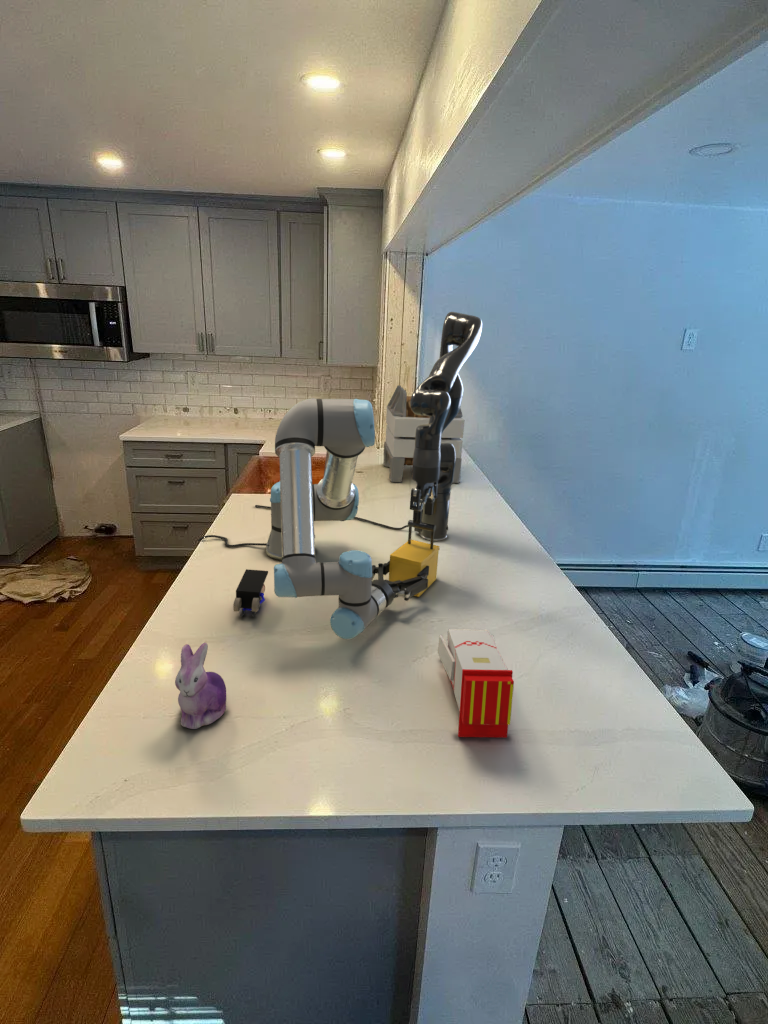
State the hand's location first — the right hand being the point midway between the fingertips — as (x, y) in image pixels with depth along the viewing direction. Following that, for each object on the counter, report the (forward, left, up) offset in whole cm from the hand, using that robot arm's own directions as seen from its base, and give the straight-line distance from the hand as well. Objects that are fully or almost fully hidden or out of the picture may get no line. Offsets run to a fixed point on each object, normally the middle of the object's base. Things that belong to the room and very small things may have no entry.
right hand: (422, 518), depth 161 cm
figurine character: (-25, -42, -19) cm, 53 cm away
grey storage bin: (-61, +97, -19) cm, 116 cm away
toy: (+36, -38, -19) cm, 56 cm away
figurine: (-1, -76, -19) cm, 79 cm away
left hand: (+1, -6, -12) cm, 14 cm away
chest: (0, -4, -19) cm, 19 cm away
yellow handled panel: (0, -4, -10) cm, 10 cm away
